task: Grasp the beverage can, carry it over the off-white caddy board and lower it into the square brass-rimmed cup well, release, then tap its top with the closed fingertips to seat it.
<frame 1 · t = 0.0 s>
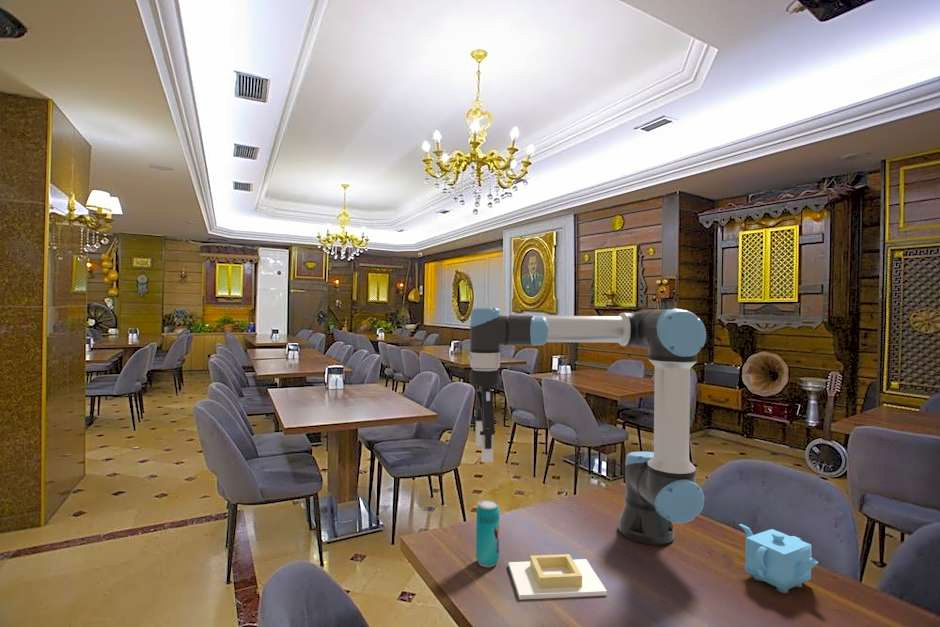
hand: (484, 453, 121), 28 cm above the table, fingers open, 13 cm apart
caddy: (555, 580, 114), on the table
teapot: (775, 580, 115), on the table
beverage can: (487, 563, 122), on the table
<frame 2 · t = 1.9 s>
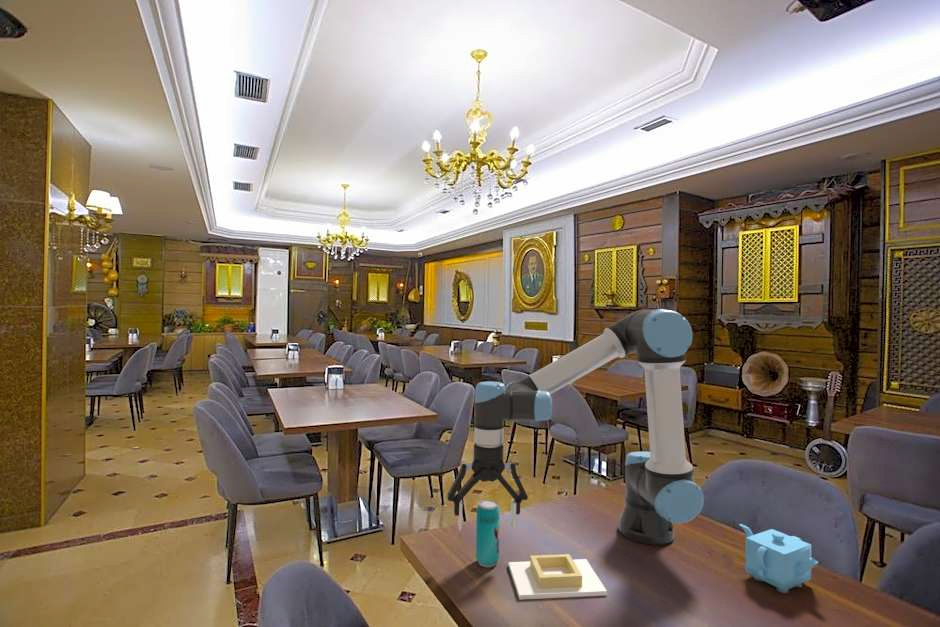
hand: (486, 527, 122), 9 cm above the table, fingers open, 13 cm apart
nothing on the table moved.
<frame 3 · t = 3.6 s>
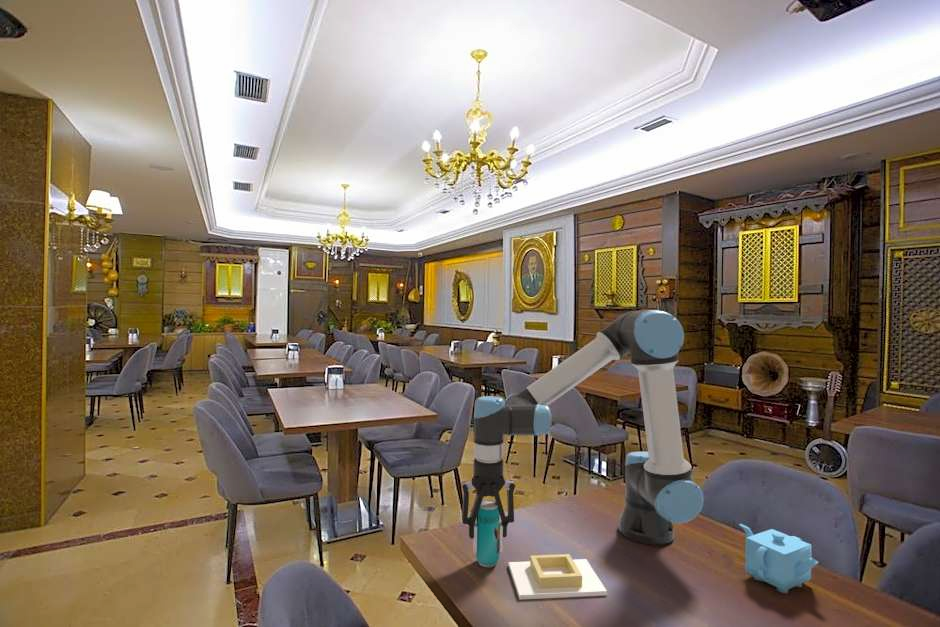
hand: (487, 549, 122), 3 cm above the table, fingers closed on beverage can, 6 cm apart
beverage can: (487, 563, 122), on the table, touching gripper
everything else where it was.
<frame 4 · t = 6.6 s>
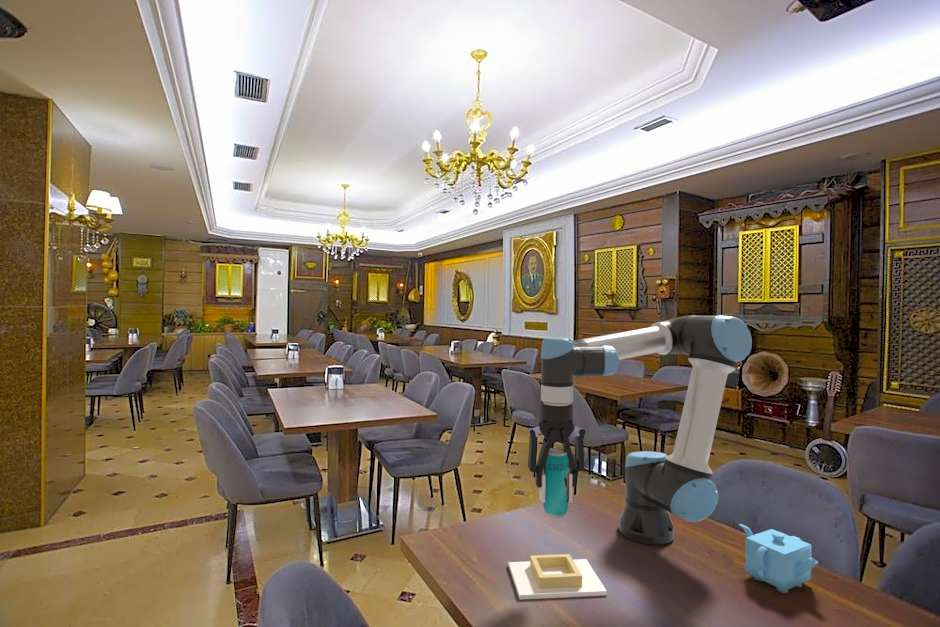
hand: (555, 499, 114), 19 cm above the table, fingers closed on beverage can, 6 cm apart
beverage can: (555, 514, 114), point 16 cm above the table, touching gripper
everything else where it was.
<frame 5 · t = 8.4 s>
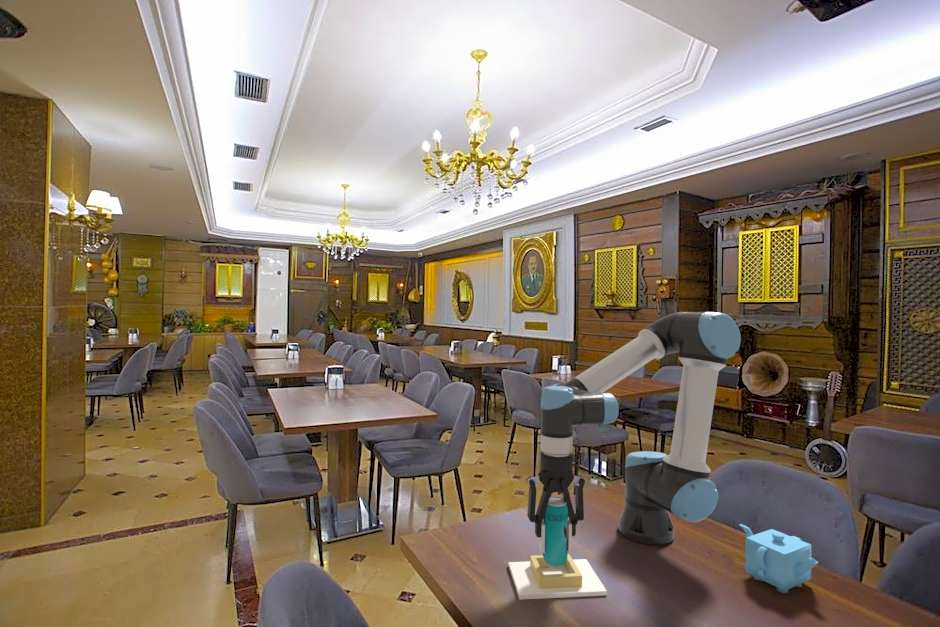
hand: (555, 549, 114), 7 cm above the table, fingers closed on beverage can, 6 cm apart
beverage can: (554, 564, 114), point 4 cm above the table, touching gripper
everything else where it was.
when the fingers open (6 cm above the table, at t = 9.5 s): beverage can drops 1 cm, resting on caddy.
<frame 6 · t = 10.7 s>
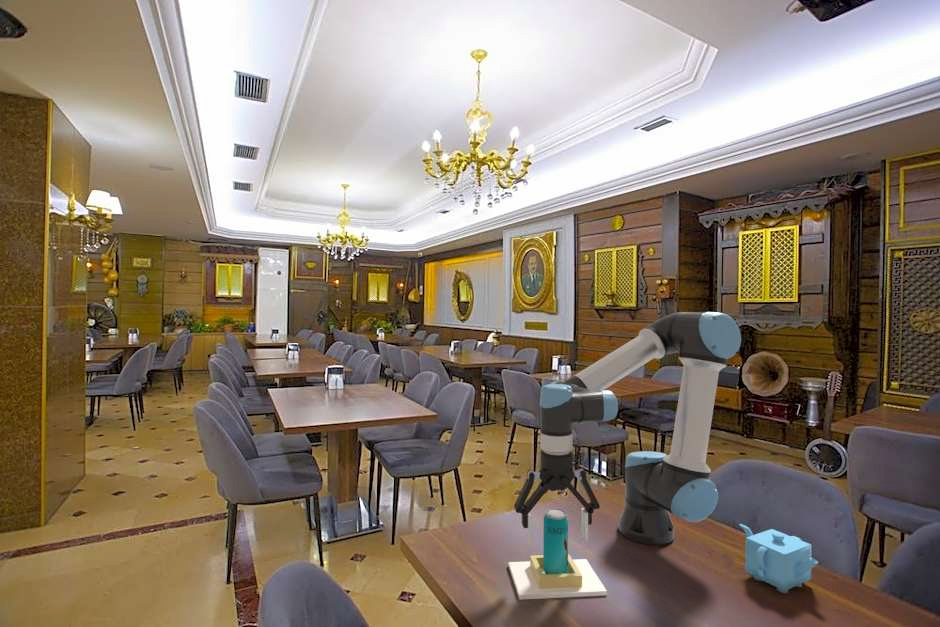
hand: (556, 539, 115), 10 cm above the table, fingers open, 13 cm apart
beverage can: (555, 576, 114), point 1 cm above the table, touching caddy
everything else where it was.
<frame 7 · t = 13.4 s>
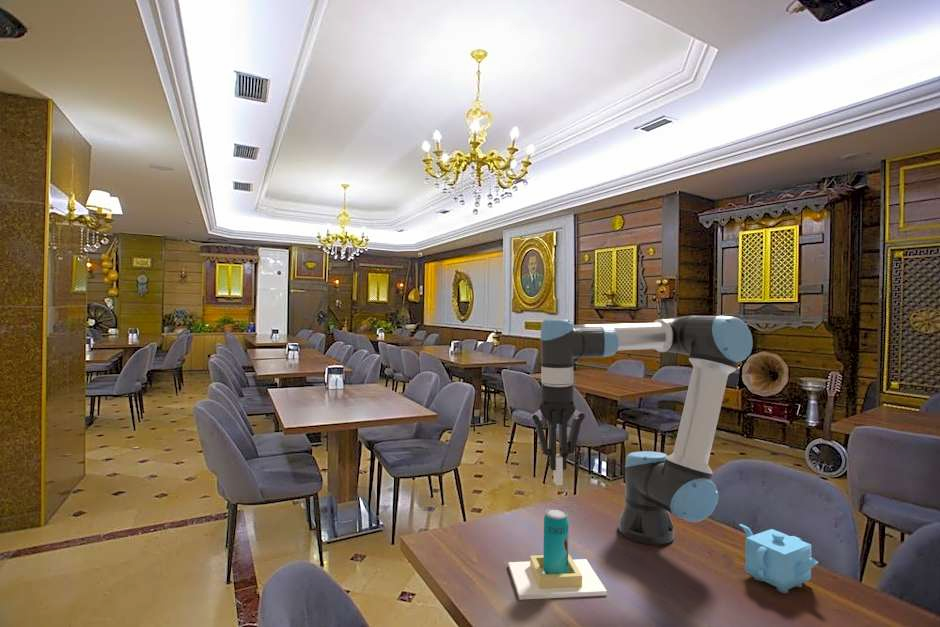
hand: (558, 483, 115), 23 cm above the table, fingers closed
nothing on the table moved.
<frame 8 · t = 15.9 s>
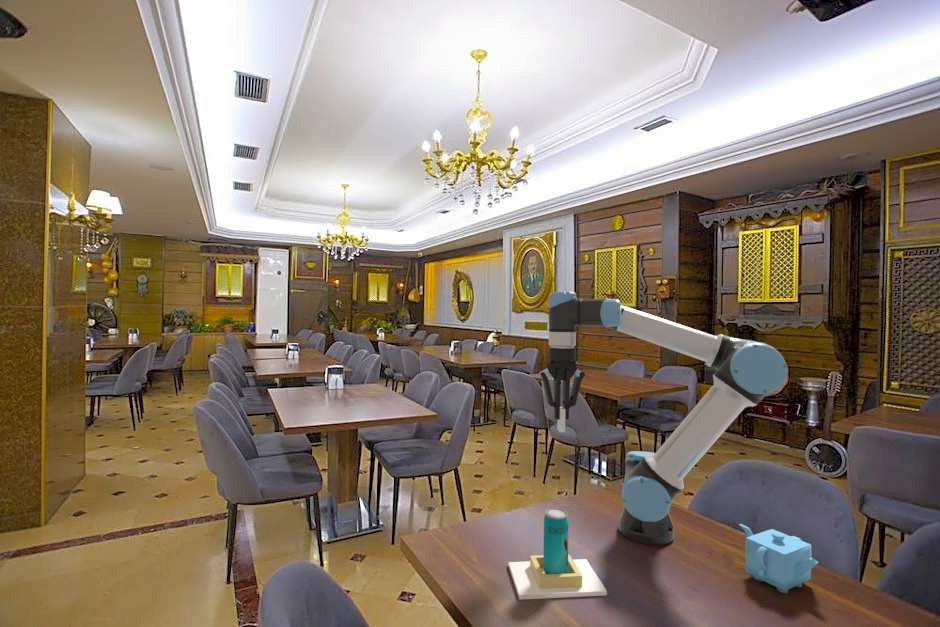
hand: (561, 431, 135), 30 cm above the table, fingers closed
nothing on the table moved.
at the end: beverage can 0.1 cm off-centre on the caddy, point 0.8 cm above the caddy's base; beverage can tilted 0°; beverage can touching caddy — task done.
